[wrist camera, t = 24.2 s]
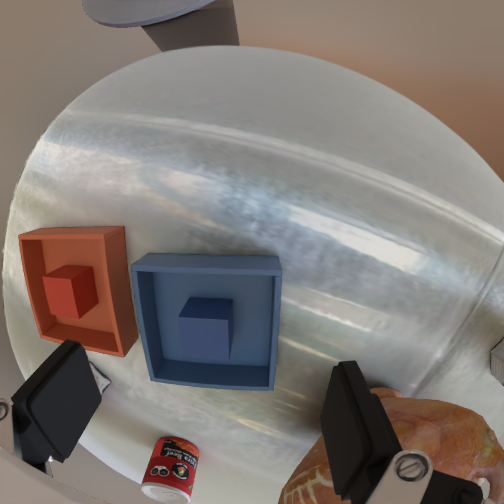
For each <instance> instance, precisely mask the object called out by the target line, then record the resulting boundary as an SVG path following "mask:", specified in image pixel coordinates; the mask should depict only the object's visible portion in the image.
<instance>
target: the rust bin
mask: <svg viewBox="0 0 504 504" xmlns="http://www.w3.org/2000/svg"><path fill="white" fill-rule="evenodd" d="M18 238H19V246H20V253H21V259H22V265H23V271H24V276H25V281H26V286H27V290H28V294H29V299H30V303H31V307H32V310H33V314H34V317H35V321H36V324H37V328H38V331H39V334H40V337H41V338H43V339H46V340H50V341H53V342H57V343H61V344H62V343H63V342H64V341H65V340H66V339H70V340H74V341H78V342H80V343H81V345H82V346H83V347H84V349H85V350H89V351H94V352H99V353H103V354H108V355H113V356H119V357H125V356H126V354H127V353H128V351H129V350H130V349H131V347H132V346H133V344H134V343H135V342H136V340H137V339H138V335H137V329H136V324H135V318H134V312H133V306H132V299H131V292H130V284H129V276H128V268H127V258H126V247H125V234H124V226H106V227H63V228H39V229H36V230H33V231H29V232H26V233H23V234H20V235H18ZM63 265H77V266H92V267H93V272H94V279H95V285H96V291H97V297H98V302H99V303H98V304H97V305H96V306H94V307H93V308H92V309H91V310H90V311H89V312H87V313H86V314H85V315H84V316H83V317H82V318H80V319H73V318H68V317H63V316H58V315H53V314H51V313H50V309H49V305H48V300H47V296H46V292H45V287H44V282H43V276H44V275H46V274H48V273H50V272H52V271H54V270H56V269H58V268H60V267H61V266H63Z"/></svg>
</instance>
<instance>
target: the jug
mask: <svg viewBox="0 0 504 504" xmlns="http://www.w3.org/2000/svg"><path fill="white" fill-rule="evenodd" d="M369 390H370V392H371V394H372V393H375V394H377V395H378V397H379V398H380V401H381V403H382V405H383V407H384V409H385V411H386V413H387V416H388V418H389V420H390V422H391V424H392V426H393V429H394V431H395V433H396V435H397V438H398V440H399V442H400V444H401V447H402V449H403V450H406V449H417V450H421V451H423V452H425V453H426V454H427V455H428V456H430V458H431V460H432V462H433V469H434V470H437V471H440V472H443V473H446V474H449V475H452V476H455V477H459V478H462V479H465V480H469V481H472V482H475V483H477V484H478V485H479V486H480V487H481V485H482V483H483V481H484V480H485V478H486V479H487V480H488V482H489V483H490V492H489V496H488V498H490V499H491V500H493V501H495V502H496V503H498V504H504V450H503V448H502V447H501V446H500V444H499V443H498V440H497V438H496V435H495V433H494V431H493V430H491V428H490V427H489V425H488V424H487V422H486V421H485V420H484V418H483V417H482V416H480V415H479V414H477V413H476V412H474V411H472V410H470V409H467V408H464V407H461V406H458V405H455V404H452V403H448V402H444V401H439V400H428V399H414V398H403V397H402V394H401V393H400V392H399V391H397V390H395V389H392V388H390V389H389V388H386V387H379V388H371V389H369ZM278 504H351V501H350V500H345V501H341V497H340V495H336V494H335V491H334V487H333V481H332V476H331V471H330V466H329V461H328V457H327V452H326V447H325V442H324V437H323V434H322V435H321V436H320V438H319V439H318V441H317V442H316V443H315V445H314V446H313V447H312V449H311V450H310V451H309V452H308V454H307V455H306V456H305V457H304V459H303V460H302V462H301V463H300V464H299V465H298V466H297V468H296V469H295V471H294V472H293V474H292V475H291V477H290V479H289V480H288V482H287V483H286V485H285V486H284V488H283V489H282V492H281V495H280V498H279V502H278Z"/></svg>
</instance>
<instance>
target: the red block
mask: <svg viewBox="0 0 504 504" xmlns="http://www.w3.org/2000/svg"><path fill="white" fill-rule="evenodd" d="M43 282H44V287H45V292H46V296H47V300H48V305H49V309H50V313H51V314H53V315H58V316H63V317H68V318H73V319H80V318H82V317H83V316H84V315H85V314H86V313H87V312H89V311H90V310H91V309H92V308H93V307H94V306H96V305H97V304H98V303H99V302H98V297H97V291H96V285H95V279H94V272H93V267H92V266H77V265H63V266H61V267H60V268H58V269H56V270H54V271H52V272H50V273H48V274H46V275H44V276H43Z"/></svg>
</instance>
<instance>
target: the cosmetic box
mask: <svg viewBox="0 0 504 504" xmlns="http://www.w3.org/2000/svg"><path fill="white" fill-rule="evenodd" d="M491 374H492V375H493V376H494V377H495V378H496V379H497V380H498V381H499V382H500V383H501V384H502V385H503V386H504V339H503V340H502V341H501V342H500V343H499V344H498V345H497V346H496V347H495V348H494V349H493V350H492V351H491Z"/></svg>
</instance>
